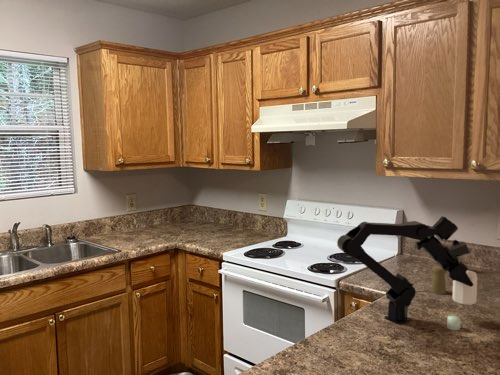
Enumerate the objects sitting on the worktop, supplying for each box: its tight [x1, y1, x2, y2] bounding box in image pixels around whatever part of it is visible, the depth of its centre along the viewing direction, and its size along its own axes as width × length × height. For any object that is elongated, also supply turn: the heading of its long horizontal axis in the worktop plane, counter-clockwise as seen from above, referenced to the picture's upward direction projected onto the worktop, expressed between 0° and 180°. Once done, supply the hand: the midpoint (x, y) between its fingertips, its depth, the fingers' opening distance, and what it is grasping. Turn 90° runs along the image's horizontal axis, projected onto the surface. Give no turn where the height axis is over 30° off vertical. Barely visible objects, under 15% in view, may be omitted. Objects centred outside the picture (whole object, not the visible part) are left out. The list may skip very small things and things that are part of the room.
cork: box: [430, 265, 447, 295], centre depth 185 cm, size 6×6×11 cm
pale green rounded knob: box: [446, 315, 461, 331], centre depth 150 cm, size 4×4×4 cm
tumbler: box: [451, 269, 478, 305], centre depth 155 cm, size 7×7×10 cm
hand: (469, 282), depth 154 cm, fingers closed on tumbler, 7 cm apart
